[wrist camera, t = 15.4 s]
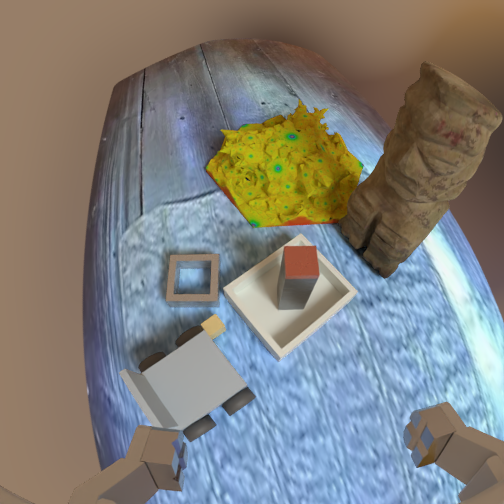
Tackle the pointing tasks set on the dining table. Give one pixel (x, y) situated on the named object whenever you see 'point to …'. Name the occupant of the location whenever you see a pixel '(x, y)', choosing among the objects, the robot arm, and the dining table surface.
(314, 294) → the tray
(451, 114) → the sculpture
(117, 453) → the dining table surface
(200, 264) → the bracket
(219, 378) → the trolley
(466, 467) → the robot arm
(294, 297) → the pin
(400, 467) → the dining table surface
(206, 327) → the block
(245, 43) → the dining table surface
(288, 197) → the decorative piece
